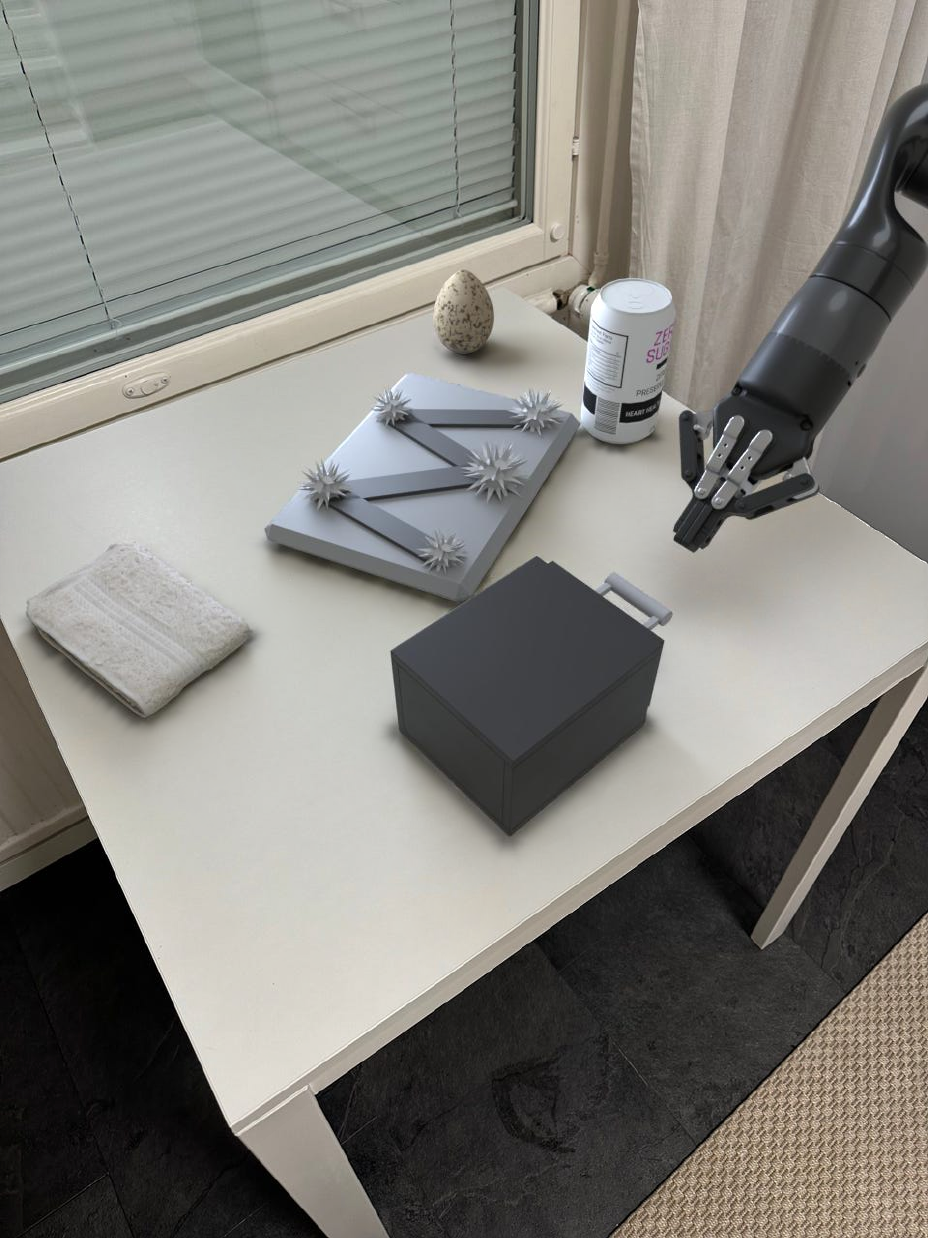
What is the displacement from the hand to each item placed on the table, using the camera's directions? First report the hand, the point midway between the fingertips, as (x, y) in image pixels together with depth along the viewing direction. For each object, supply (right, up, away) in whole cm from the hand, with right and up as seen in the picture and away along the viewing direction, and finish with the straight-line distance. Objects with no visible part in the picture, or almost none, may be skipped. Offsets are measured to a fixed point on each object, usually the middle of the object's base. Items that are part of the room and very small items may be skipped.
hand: (683, 546), depth 72 cm
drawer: (-10, -12, -1) cm, 15 cm away
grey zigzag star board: (-21, +8, +19) cm, 29 cm away
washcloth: (-46, -7, +6) cm, 47 cm away
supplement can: (-1, +15, +26) cm, 30 cm away
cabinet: (-13, -14, -2) cm, 20 cm away
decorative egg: (-18, +27, +36) cm, 49 cm away
